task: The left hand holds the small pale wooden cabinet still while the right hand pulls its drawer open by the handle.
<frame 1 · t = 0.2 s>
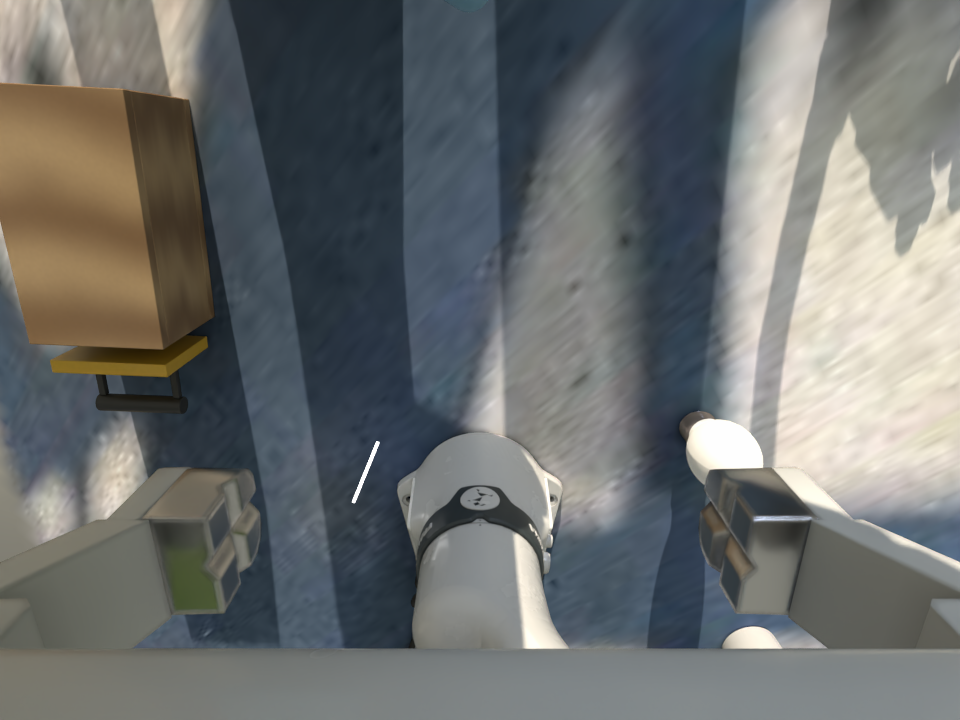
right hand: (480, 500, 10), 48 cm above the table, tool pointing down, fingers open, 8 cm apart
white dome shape: (747, 645, 74), on the table
light bulb: (698, 424, 63), on the table
drawer: (123, 289, 53), point 5 cm above the table, slide at 1.8 cm
cabinet: (143, 212, 55), on the table
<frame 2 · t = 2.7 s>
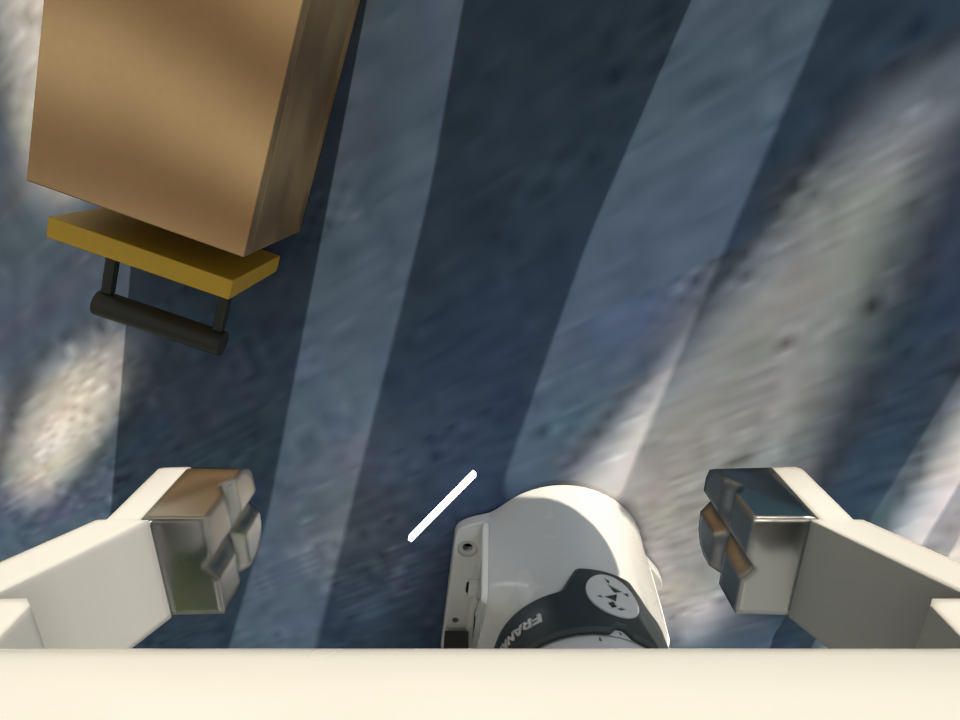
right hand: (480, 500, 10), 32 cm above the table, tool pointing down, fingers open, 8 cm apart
drawer: (196, 148, 34), point 5 cm above the table, slide at 1.8 cm
cabinet: (252, 48, 37), on the table
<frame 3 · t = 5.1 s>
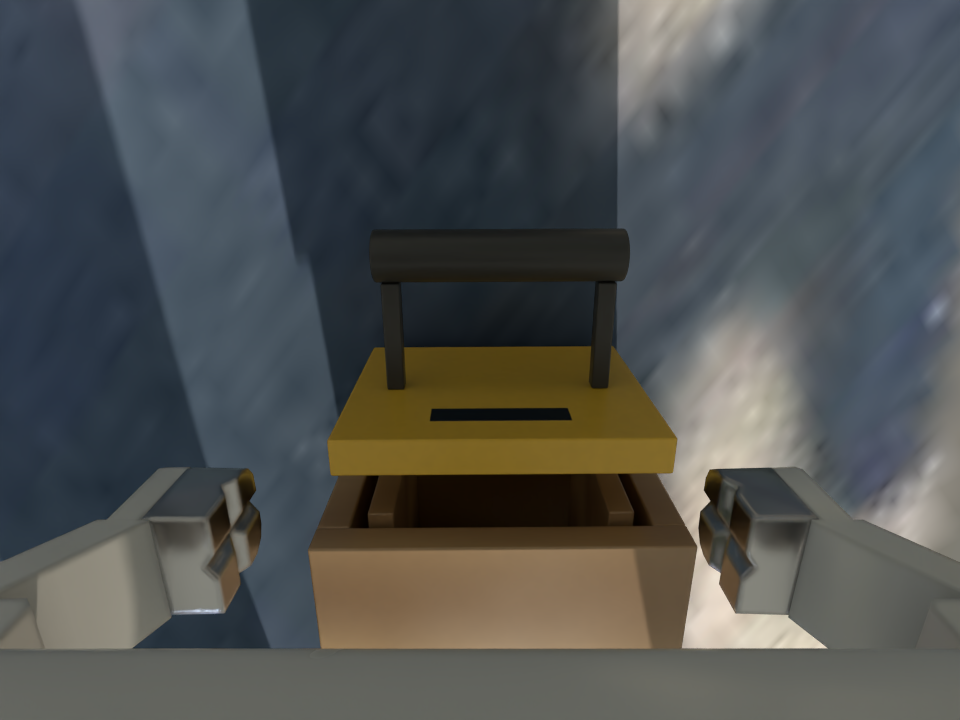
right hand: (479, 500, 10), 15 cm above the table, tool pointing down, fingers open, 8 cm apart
drawer: (496, 541, 23), point 5 cm above the table, slide at 1.8 cm
cabinet: (491, 579, 30), on the table, touching left hand
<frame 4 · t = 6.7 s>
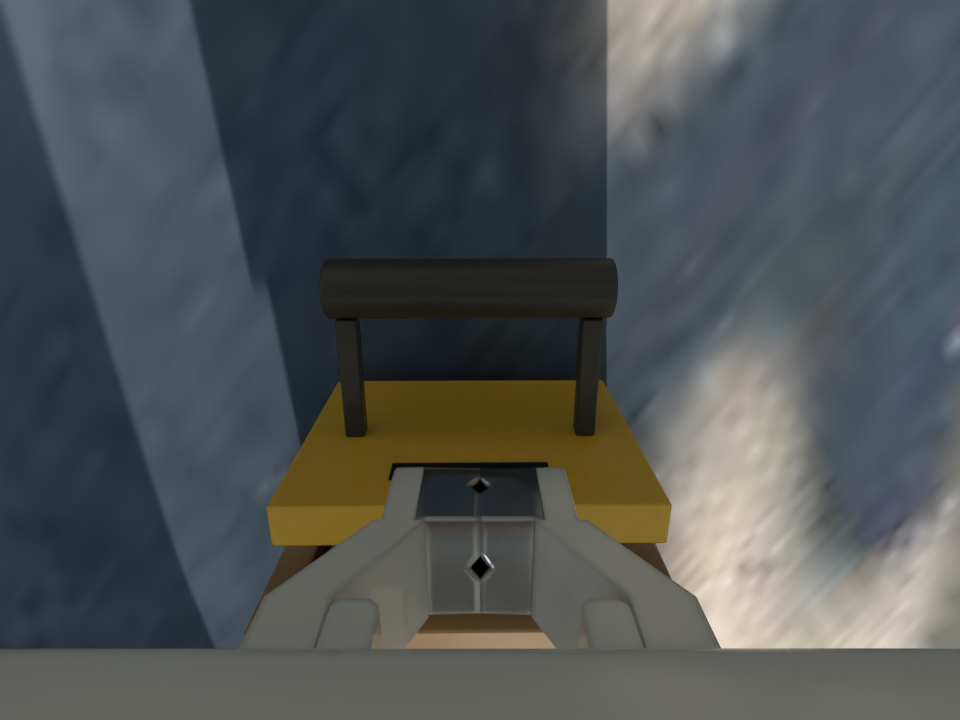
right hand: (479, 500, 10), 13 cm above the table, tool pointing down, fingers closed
drawer: (471, 599, 21), point 5 cm above the table, slide at 1.8 cm
cabinet: (472, 625, 28), on the table, touching left hand
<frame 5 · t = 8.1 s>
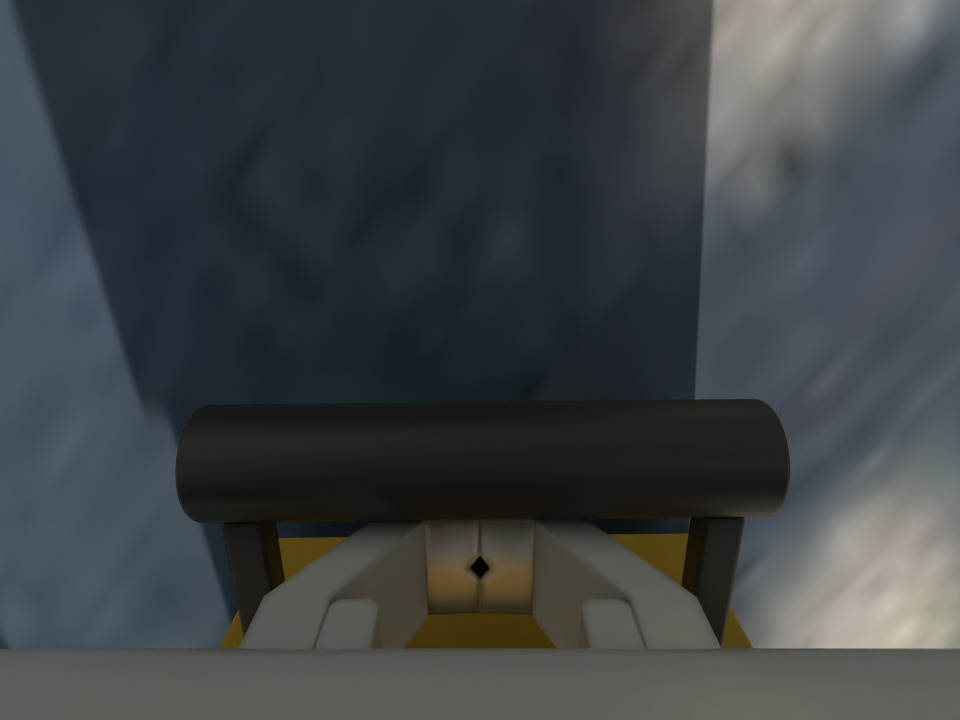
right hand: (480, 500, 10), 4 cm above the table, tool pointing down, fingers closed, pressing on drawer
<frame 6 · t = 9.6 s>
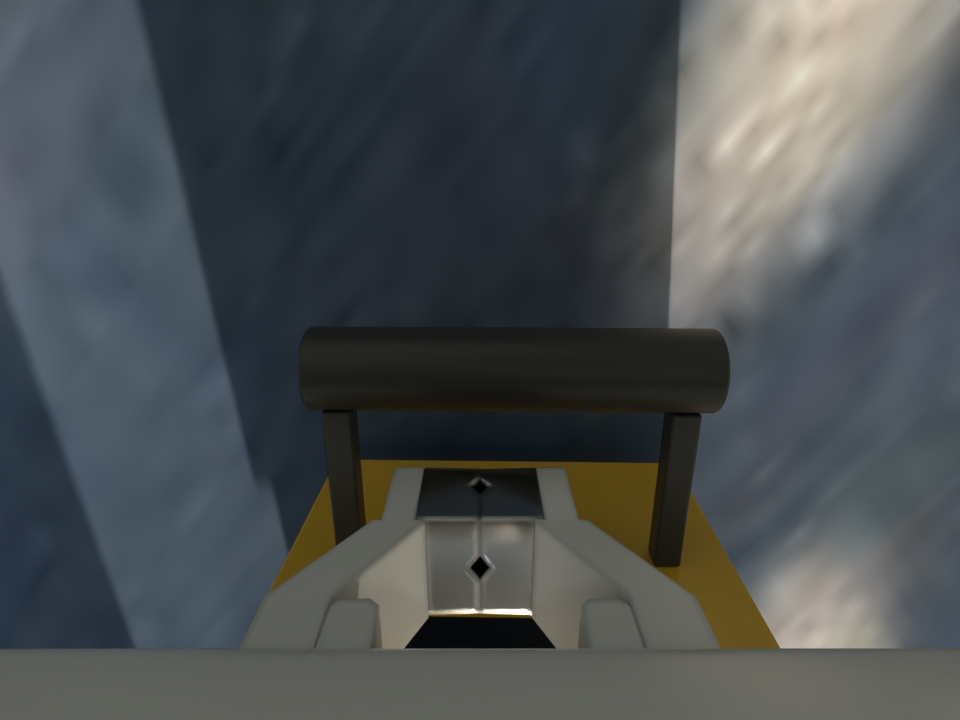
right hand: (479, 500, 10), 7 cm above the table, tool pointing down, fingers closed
when the left hand's fingers open (6 cm above the table, at t = 11.0 s): cabinet stays where it is, on the table.
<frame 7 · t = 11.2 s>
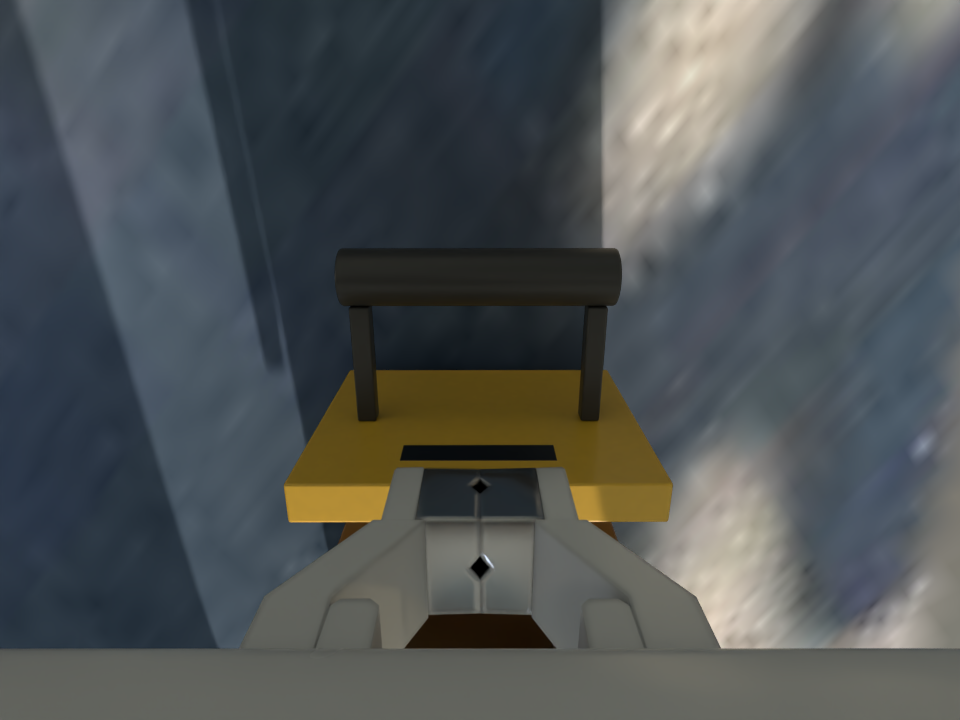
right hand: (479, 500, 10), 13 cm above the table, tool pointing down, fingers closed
drawer: (478, 582, 21), point 5 cm above the table, slide at 6.9 cm
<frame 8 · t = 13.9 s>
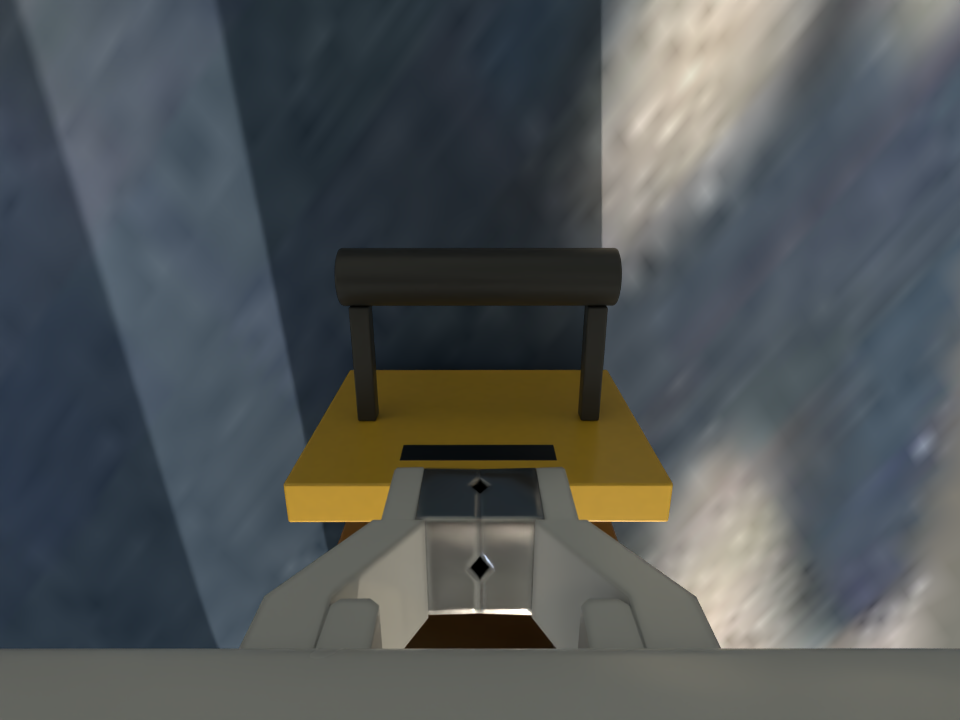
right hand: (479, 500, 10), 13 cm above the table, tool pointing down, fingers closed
drawer: (478, 582, 21), point 5 cm above the table, slide at 6.9 cm
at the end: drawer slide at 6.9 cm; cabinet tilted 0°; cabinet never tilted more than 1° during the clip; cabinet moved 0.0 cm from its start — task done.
